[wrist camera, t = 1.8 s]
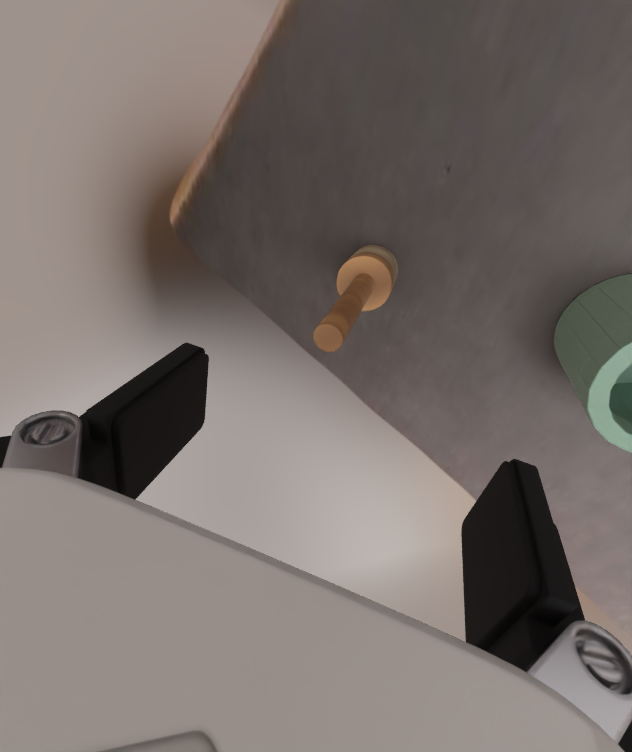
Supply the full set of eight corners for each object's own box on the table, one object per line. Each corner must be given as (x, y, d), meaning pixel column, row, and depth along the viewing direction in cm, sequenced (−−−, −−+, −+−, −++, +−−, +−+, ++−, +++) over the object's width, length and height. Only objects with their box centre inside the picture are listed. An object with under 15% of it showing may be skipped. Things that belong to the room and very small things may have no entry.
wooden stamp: (339, 259, 35) (276, 320, 22) (384, 234, 33) (342, 285, 20) (362, 302, 37) (315, 382, 24) (406, 281, 34) (381, 356, 22)
